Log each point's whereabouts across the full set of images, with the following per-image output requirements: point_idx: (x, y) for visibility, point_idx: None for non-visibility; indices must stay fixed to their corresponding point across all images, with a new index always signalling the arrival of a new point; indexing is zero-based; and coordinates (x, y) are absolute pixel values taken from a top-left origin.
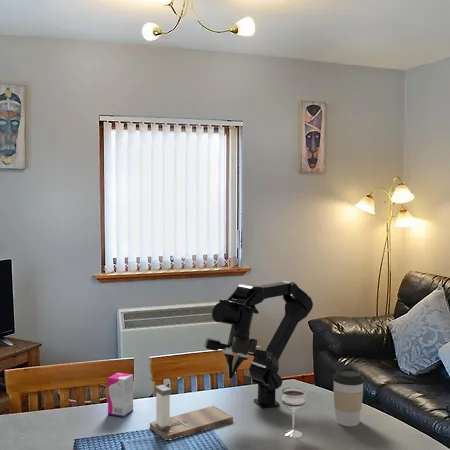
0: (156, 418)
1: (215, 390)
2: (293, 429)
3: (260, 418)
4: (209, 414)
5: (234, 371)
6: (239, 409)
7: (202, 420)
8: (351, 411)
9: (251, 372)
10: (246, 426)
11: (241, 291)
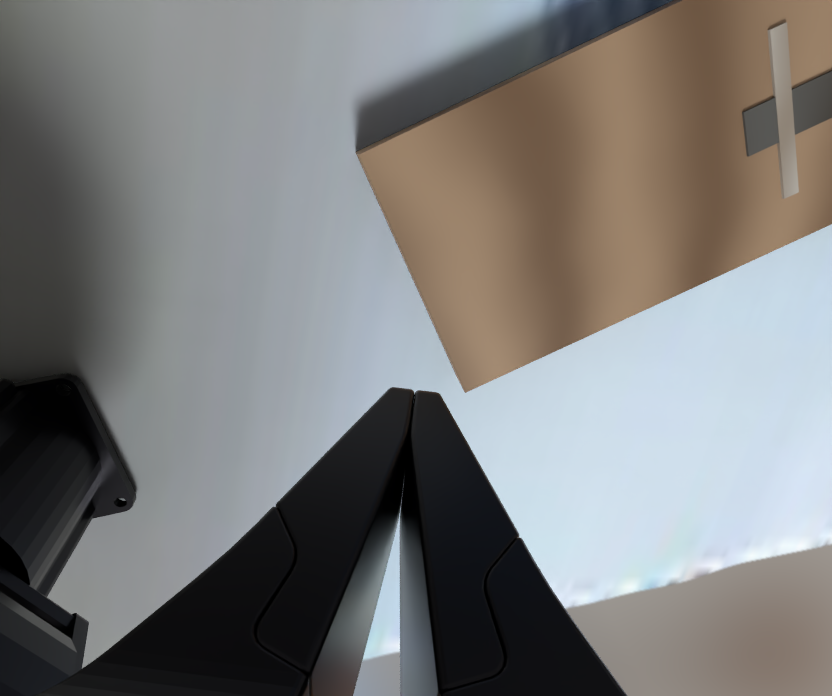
0: None
1: (380, 641)
2: None
3: (96, 180)
4: (537, 238)
5: (349, 457)
6: (265, 373)
7: (624, 125)
8: None
9: (34, 688)
10: (248, 26)
11: None
